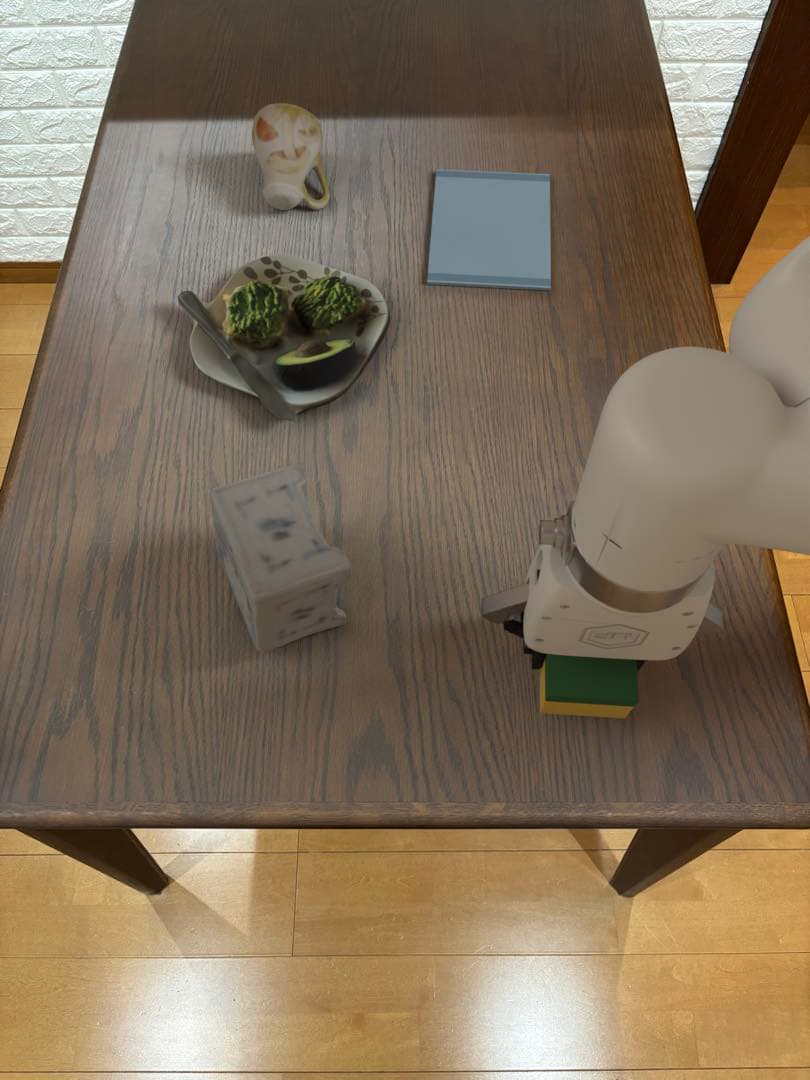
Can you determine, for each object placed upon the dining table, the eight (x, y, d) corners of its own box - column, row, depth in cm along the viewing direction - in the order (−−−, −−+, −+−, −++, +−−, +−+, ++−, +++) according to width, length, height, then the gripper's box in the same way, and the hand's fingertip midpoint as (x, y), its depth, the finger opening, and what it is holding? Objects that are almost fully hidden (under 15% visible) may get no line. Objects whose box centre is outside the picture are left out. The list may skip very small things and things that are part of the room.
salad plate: (135, 368, 76) (119, 334, 72) (237, 241, 83) (228, 204, 79) (318, 446, 72) (313, 415, 68) (409, 306, 79) (409, 270, 75)
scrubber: (539, 596, 63) (547, 572, 59) (619, 601, 62) (632, 576, 58) (539, 713, 59) (547, 695, 55) (625, 718, 58) (639, 701, 54)
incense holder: (361, 619, 65) (352, 562, 55) (261, 662, 63) (235, 611, 54) (313, 519, 69) (298, 450, 59) (218, 557, 67) (188, 493, 58)
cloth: (549, 177, 87) (550, 173, 87) (550, 291, 80) (550, 287, 80) (436, 172, 88) (436, 168, 87) (426, 284, 80) (427, 281, 80)
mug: (251, 225, 84) (222, 118, 79) (282, 201, 92) (258, 102, 87) (319, 216, 82) (294, 105, 77) (345, 192, 90) (324, 90, 84)
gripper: (471, 597, 43) (461, 695, 59) (813, 616, 42) (707, 711, 58) (476, 473, 46) (465, 598, 62) (793, 488, 45) (698, 611, 61)
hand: (582, 651), depth 60 cm, fingers closed on scrubber, 6 cm apart
